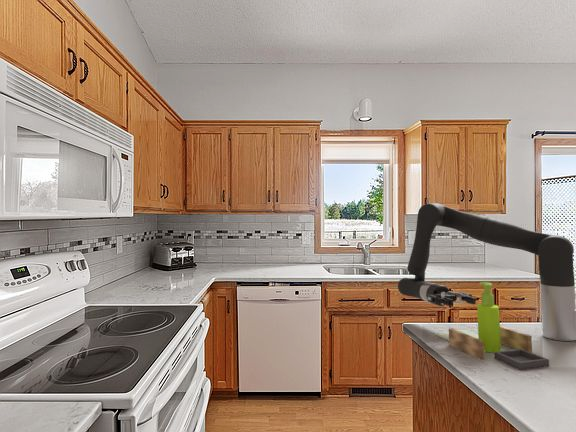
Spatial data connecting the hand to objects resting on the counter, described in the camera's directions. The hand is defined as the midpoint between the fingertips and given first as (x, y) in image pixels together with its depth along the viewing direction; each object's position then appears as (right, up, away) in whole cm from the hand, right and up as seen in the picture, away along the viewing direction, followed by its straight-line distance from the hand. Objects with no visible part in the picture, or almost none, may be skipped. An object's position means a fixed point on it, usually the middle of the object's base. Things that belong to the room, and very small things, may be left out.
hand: (463, 302), depth 128 cm
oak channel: (+3, -12, -11) cm, 16 cm away
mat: (0, -12, +2) cm, 12 cm away
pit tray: (+5, -11, -23) cm, 26 cm away
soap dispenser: (+3, -12, -11) cm, 16 cm away
